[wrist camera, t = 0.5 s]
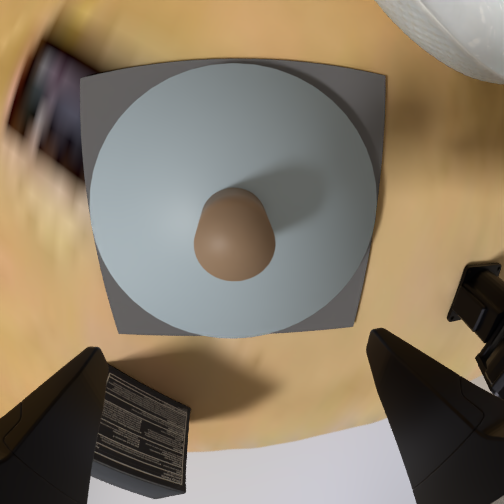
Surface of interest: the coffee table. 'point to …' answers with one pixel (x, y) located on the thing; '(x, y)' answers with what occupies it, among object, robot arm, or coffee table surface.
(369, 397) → the coffee table surface
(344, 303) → the mat
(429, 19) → the oval grey pot
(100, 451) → the small box
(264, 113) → the lid
